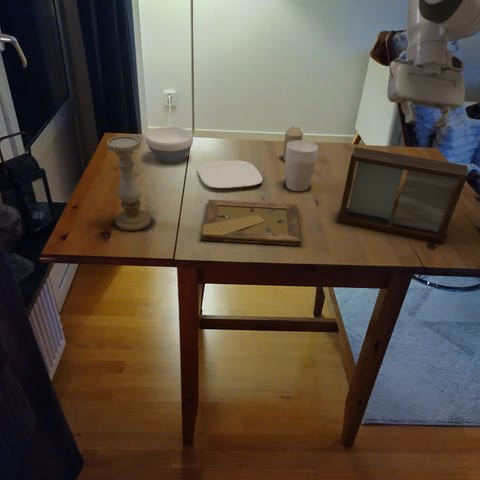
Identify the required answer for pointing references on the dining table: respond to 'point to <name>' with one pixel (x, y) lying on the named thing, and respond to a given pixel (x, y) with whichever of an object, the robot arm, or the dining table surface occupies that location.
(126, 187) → the candle holder
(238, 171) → the plate
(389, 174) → the door
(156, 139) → the bowl
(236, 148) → the dining table surface
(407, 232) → the frame
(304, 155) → the cup
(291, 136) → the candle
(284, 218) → the picture frame
